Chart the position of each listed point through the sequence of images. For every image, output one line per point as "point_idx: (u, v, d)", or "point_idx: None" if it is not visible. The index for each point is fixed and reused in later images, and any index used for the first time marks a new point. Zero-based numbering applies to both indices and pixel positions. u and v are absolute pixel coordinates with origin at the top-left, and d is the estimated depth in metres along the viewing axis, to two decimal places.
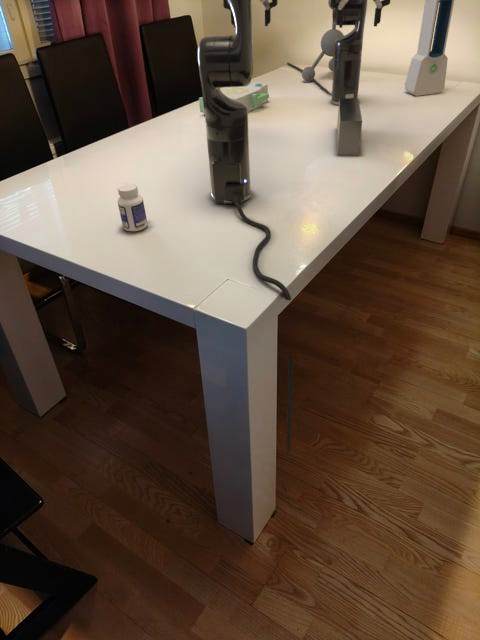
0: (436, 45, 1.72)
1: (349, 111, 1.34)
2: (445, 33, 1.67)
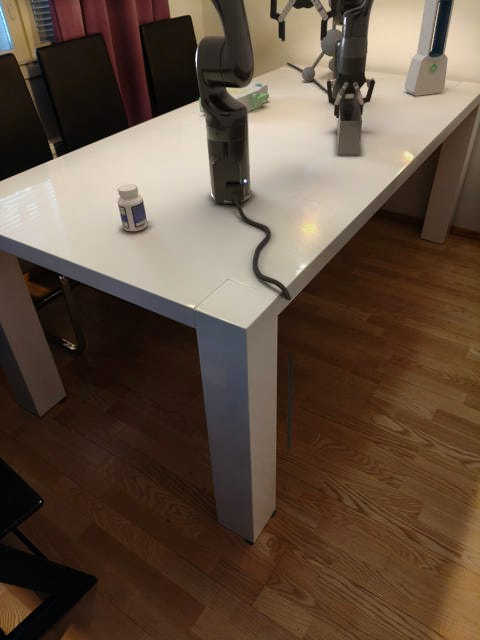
0: (436, 45, 1.72)
1: (349, 111, 1.34)
2: (445, 33, 1.67)
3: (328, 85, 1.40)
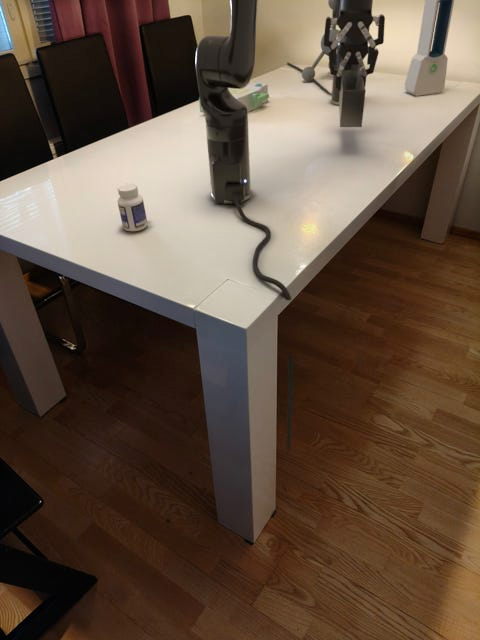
0: (436, 45, 1.72)
1: (351, 82, 1.30)
2: (445, 33, 1.67)
3: None
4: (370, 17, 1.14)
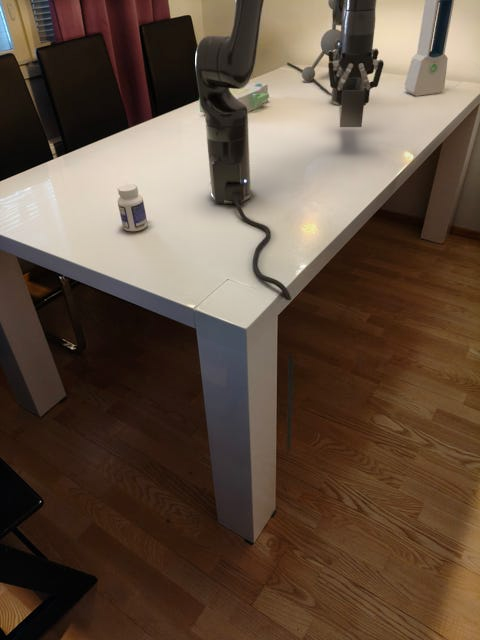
0: (436, 45, 1.72)
1: (351, 82, 1.30)
2: (445, 33, 1.67)
3: (330, 56, 1.35)
4: (371, 60, 1.21)
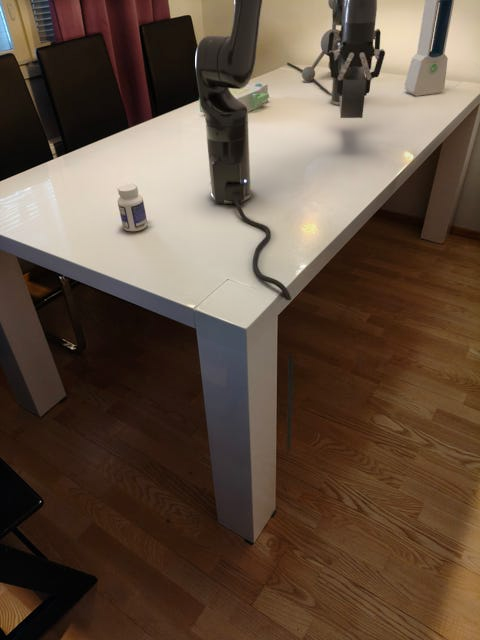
0: (436, 45, 1.72)
1: (352, 72, 1.28)
2: (445, 33, 1.67)
3: (330, 36, 1.34)
4: (372, 49, 1.19)
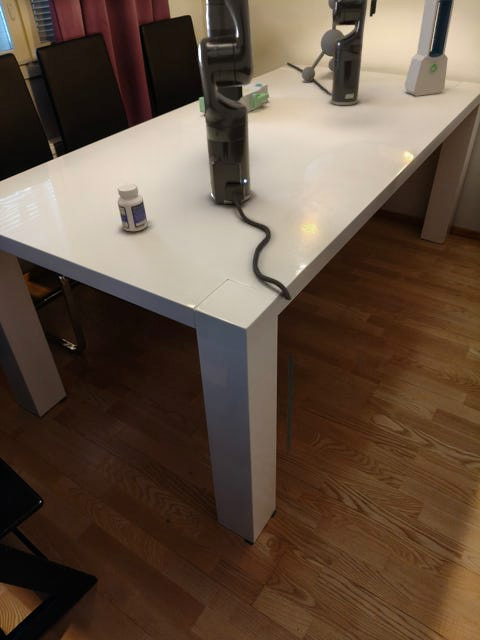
0: (436, 45, 1.72)
1: None
2: (445, 33, 1.67)
3: None
4: None
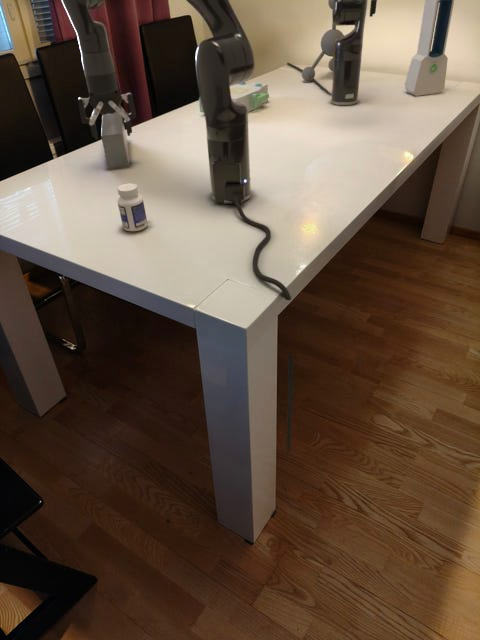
0: (436, 45, 1.72)
1: (110, 125, 1.35)
2: (445, 33, 1.67)
3: None
4: (118, 96, 1.25)
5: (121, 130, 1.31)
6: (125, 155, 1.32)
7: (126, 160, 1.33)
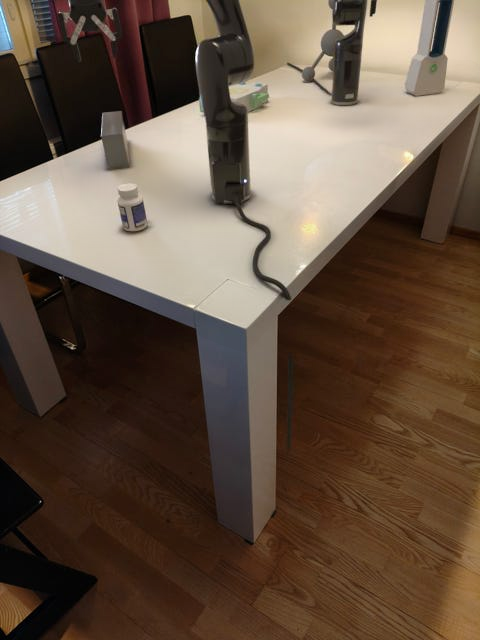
0: (436, 45, 1.72)
1: (110, 125, 1.35)
2: (445, 33, 1.67)
3: None
4: (102, 10, 1.14)
5: (121, 130, 1.31)
6: (125, 155, 1.32)
7: (126, 160, 1.33)
